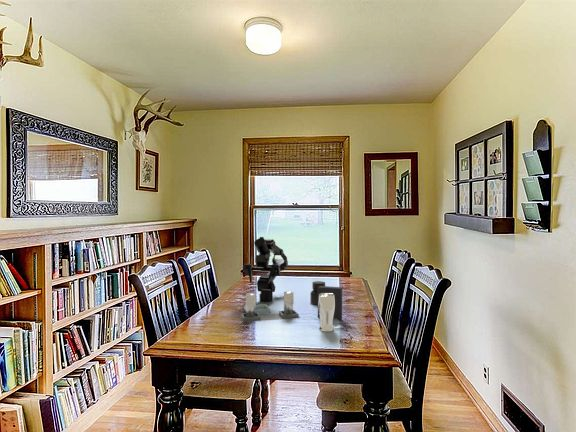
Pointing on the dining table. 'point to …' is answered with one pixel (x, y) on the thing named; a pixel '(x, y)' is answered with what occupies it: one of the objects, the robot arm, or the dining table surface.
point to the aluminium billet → (250, 305)
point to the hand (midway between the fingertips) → (259, 282)
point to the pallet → (269, 316)
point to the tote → (261, 310)
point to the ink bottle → (315, 292)
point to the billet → (288, 302)
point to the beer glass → (326, 311)
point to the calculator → (338, 299)
